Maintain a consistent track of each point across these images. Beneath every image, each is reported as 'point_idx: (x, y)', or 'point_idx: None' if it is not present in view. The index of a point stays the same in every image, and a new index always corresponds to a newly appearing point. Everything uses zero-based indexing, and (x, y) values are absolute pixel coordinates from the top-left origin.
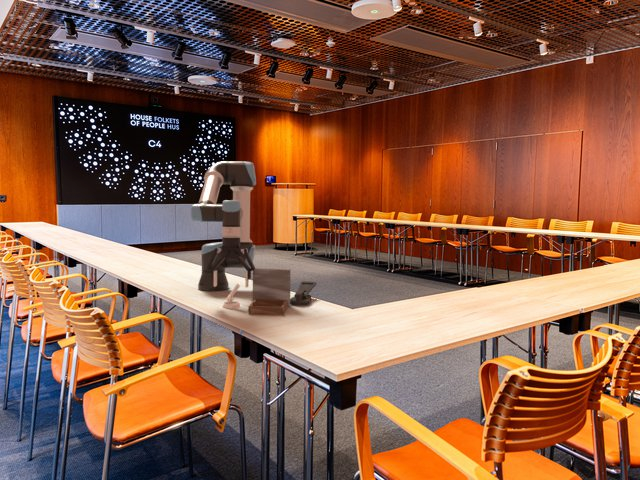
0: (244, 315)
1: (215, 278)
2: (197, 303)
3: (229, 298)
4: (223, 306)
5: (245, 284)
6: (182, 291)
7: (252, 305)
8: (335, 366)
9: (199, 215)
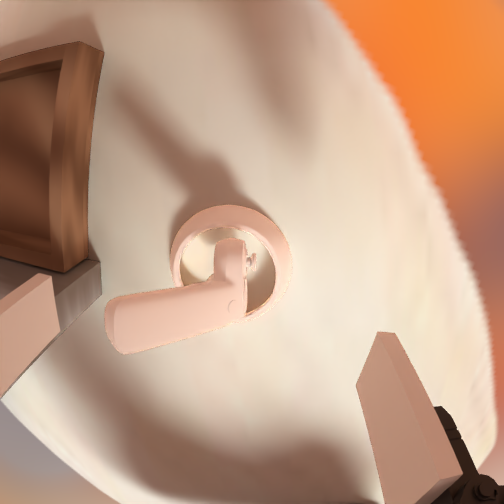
0: (126, 24)
1: (405, 398)
2: (432, 337)
3: (227, 244)
4: (279, 234)
5: (34, 289)
6: None
7: (59, 96)
8: None
9: None
